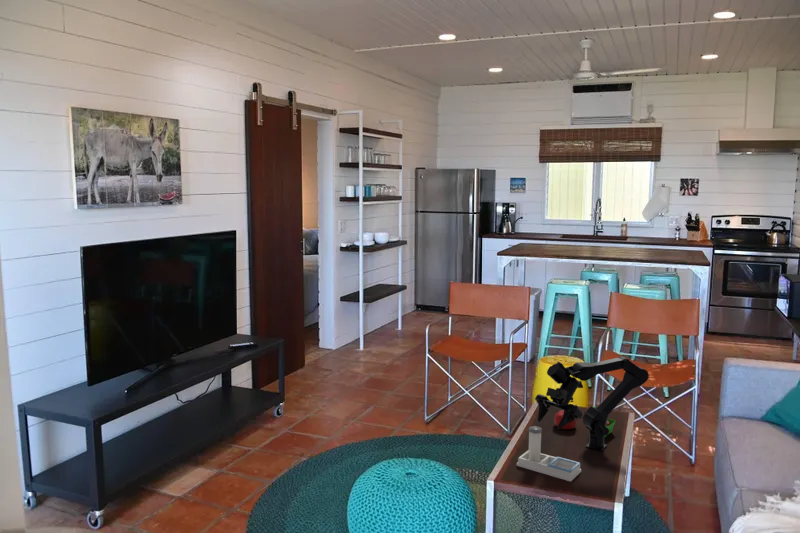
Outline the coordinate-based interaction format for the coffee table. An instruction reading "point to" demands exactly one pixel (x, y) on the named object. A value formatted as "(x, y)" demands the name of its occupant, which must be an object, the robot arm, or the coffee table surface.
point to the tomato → (559, 416)
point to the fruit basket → (609, 425)
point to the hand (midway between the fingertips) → (548, 425)
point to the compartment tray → (551, 466)
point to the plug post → (534, 443)
